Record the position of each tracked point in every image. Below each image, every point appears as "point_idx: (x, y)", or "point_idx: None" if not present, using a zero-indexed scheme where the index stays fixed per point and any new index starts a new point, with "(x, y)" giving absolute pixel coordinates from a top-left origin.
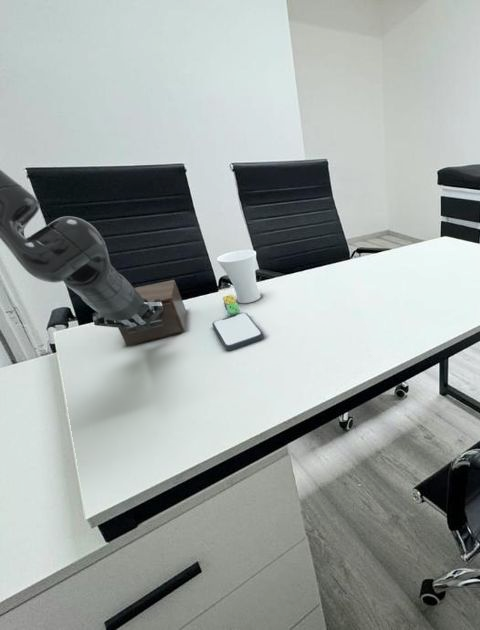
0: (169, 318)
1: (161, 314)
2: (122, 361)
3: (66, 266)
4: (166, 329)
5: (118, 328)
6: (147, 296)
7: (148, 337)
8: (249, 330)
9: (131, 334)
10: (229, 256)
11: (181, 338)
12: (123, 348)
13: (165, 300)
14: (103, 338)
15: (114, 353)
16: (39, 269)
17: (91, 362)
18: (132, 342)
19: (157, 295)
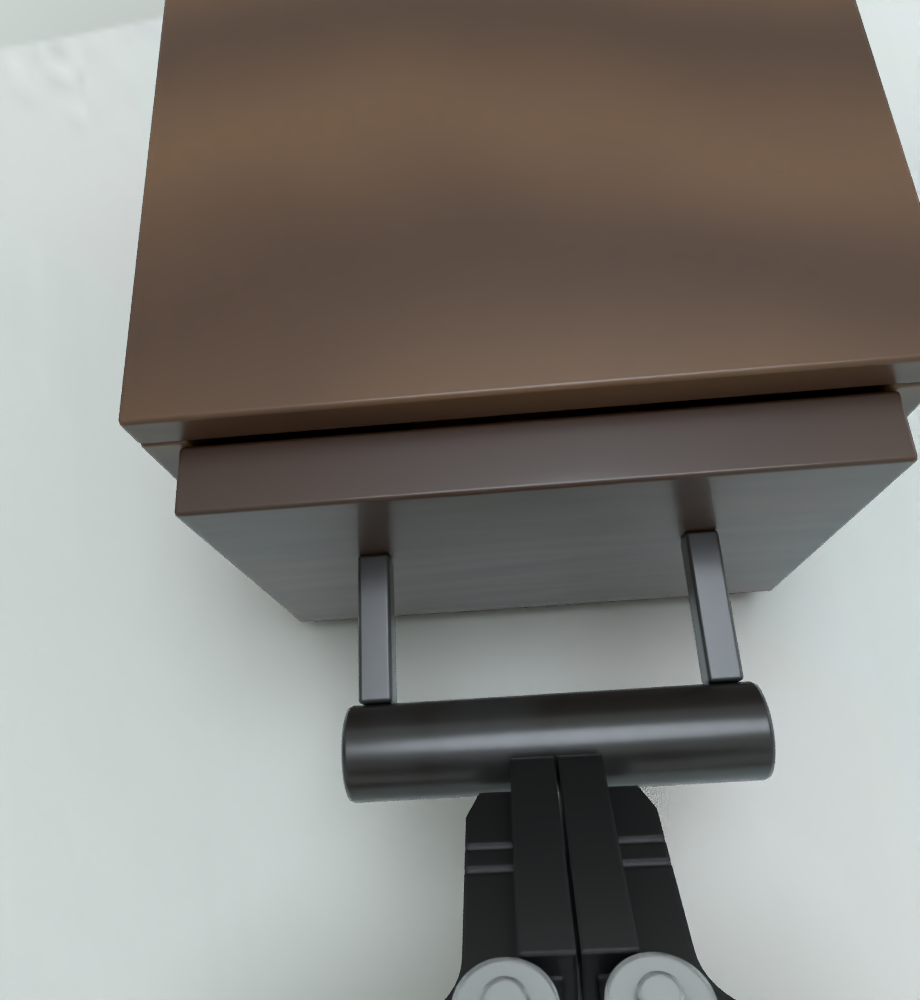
0: (767, 546)
1: (717, 523)
2: (285, 925)
3: None
4: (665, 582)
5: None
6: (556, 135)
7: (482, 605)
8: None
9: (346, 597)
10: None
11: (777, 698)
12: (263, 617)
13: (863, 378)
14: (93, 323)
15: (199, 684)
16: None
17: (30, 766)
18: (342, 617)
19: (698, 162)
